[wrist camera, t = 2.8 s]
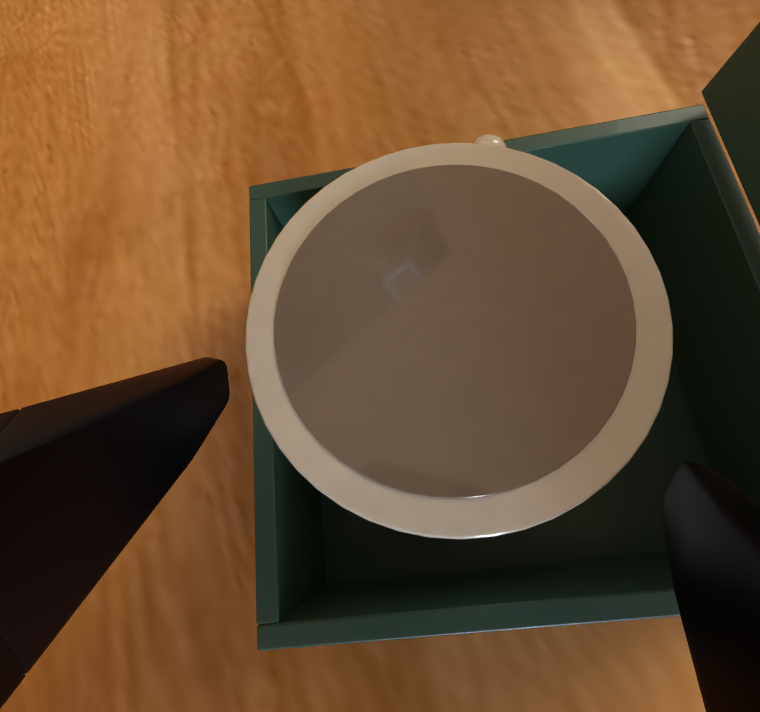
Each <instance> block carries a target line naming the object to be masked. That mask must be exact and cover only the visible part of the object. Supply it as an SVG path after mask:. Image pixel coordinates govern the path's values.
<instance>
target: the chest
mask: <svg viewBox="0 0 760 712" xmlns="http://www.w3.org/2000/svg"><path fill="white" fill-rule="evenodd" d="M503 141H504V143H505V144H506V147H507V148H510V149H514V150H517V151H521V152H525V153H529V154H532V155H534V156H537V157H540V158H542V159H545V160H547V161H550V162H552V163H555V164H557V165H558V166H560V167H562V168H564V169H566V170H568V171H570V172H572V173H574V174H575V175H577V176H579V177H580V178H582V179H583V180H584V181H586V182H587V183H589V184H590V185H592V186H593V187H595V188H596V189H597V190H599V191H600V192H601V193H602V194H603V195H604V196H605V197H606V198H608V199H609V200H610V201H611V202H612V203H613V204H614V205H615V206H617V207H618V209H619V210H620V211H621V212H622V213H623V214H624V215H625V217H626V218H627V219H628V220H629V221H630V222H631V224H632V225H633V226H634V227H635V229H636V230H637V232H638V233H639V235H640V236H641V238H642V239H643V241H644V242H645V244H646V245H647V247H648V248H649V250H650V252H651V254H652V256H653V259H654V261H655V263H656V265H657V267H658V269H659V271H660V273H661V277H662V280H663V283H664V286H665V289H666V293H667V296H668V300H669V306H670V312H671V319H672V325H673V355H672V362H671V369H670V375H669V382H668V385H667V389H666V392H665V395H664V398H663V401H662V405H661V408H660V411H659V413H658V415H657V417H656V419H655V421H654V423H653V425H652V427H651V429H650V431H649V433H648V435H647V437H646V438H645V440H644V441H643V443H642V444H641V446H640V447H639V448H638V450H637V451H636V453H635V454H634V455H633V457H632V458H631V460H630V461H629V462H628V463H627V464H626V465H625V466H624V467H623V469H622V470H621V471H620V472H619V473H618V474H617V475H616V476H615V477H614V478H613V479H612V480H611V481H610V482H609V483H608V484H607V485H606V486H604V487H603V488H602V489H600V490H599V491H598V492H596V493H595V494H594V495H593V496H591V497H590V498H589V499H587V500H586V501H585V502H583V503H582V504H580V505H578V506H576V507H575V508H573V509H571V510H569V511H567V512H566V513H564V514H562V515H560V516H558V517H557V518H555V519H552V520H550V521H547V522H544V523H542V524H539V525H536V526H534V527H531V528H528V529H526V530H522V531H517V532H513V533H508V534H504V535H499V536H495V537H486V538H473V539H446V538H430V537H424V536H419V535H414V534H409V533H405V532H400V531H396V530H393V529H390V528H387V527H385V526H382V525H379V524H376V523H373V522H370V521H368V520H366V519H364V518H362V517H360V516H358V515H356V514H354V513H352V512H350V511H349V510H347V509H345V508H343V507H341V506H340V505H338V504H337V503H335V502H334V501H333V500H331V499H330V498H328V497H327V496H325V495H324V494H323V493H321V492H320V491H318V490H317V489H316V488H315V487H314V486H313V485H312V484H311V483H310V482H309V481H308V480H306V479H305V478H304V477H303V476H302V475H301V474H300V473H299V472H298V471H297V470H296V469H295V468H294V466H293V465H292V464H291V463H290V461H289V460H288V459H287V458H286V456H285V455H284V454H283V453H282V451H281V450H280V449H279V447H278V446H277V444H276V442H275V441H274V439H273V437H272V436H271V434H270V432H269V431H268V429H267V427H266V426H265V423H264V421H263V419H262V416H261V414H260V411H259V409H258V407H257V404H256V402H255V399H254V395H253V429H254V488H255V548H256V607H257V624H259V625H258V626H257V648H258V650H260V651H263V650H275V649H288V648H300V647H312V646H324V645H336V644H348V643H361V642H373V641H385V640H397V639H409V638H421V637H434V636H446V635H458V634H470V633H482V632H494V631H506V630H519V629H531V628H543V627H555V626H567V625H579V624H592V623H604V622H616V621H628V620H640V619H652V618H665V617H677V616H680V612H679V608H678V604H677V600H676V596H675V592H674V588H673V582H672V576H671V570H670V563H669V556H668V549H667V542H666V535H665V528H664V521H663V514H662V507H661V504H662V497H663V494H664V492H665V490H666V488H667V487H668V485H669V483H670V481H671V479H672V478H673V476H674V474H675V472H676V470H677V469H678V467H679V466H680V465H681V464H682V463H685V462H690V463H695V464H699V465H704V466H708V467H711V468H713V469H714V470H716V471H717V472H718V473H719V474H721V475H722V476H723V477H725V478H726V479H727V480H729V481H730V482H731V483H733V484H734V485H735V486H736V487H738V488H739V489H740V490H742V491H743V492H744V493H746V494H747V495H748V496H749V497H751V498H752V499H753V500H755V501H756V502H757V503H759V504H760V234H759V232H758V229H757V227H756V225H755V223H754V220H753V218H752V216H751V213H750V211H749V209H748V206H747V204H746V202H745V199H744V197H743V195H742V192H741V190H740V188H739V186H738V183H737V181H736V179H735V176H734V174H733V172H732V169H731V167H730V165H729V162H728V160H727V158H726V155H725V153H724V151H723V149H722V146H721V144H720V142H719V139H718V137H717V135H716V132H715V130H714V128H713V125H712V123H711V121H710V119H709V116H708V114H707V112H706V109H705V107H704V105H697V106H691V107H686V108H680V109H675V110H669V111H664V112H658V113H653V114H647V115H642V116H636V117H631V118H625V119H620V120H614V121H609V122H603V123H597V124H592V125H586V126H581V127H575V128H570V129H564V130H559V131H553V132H548V133H542V134H537V135H531V136H526V137H520V138H514V139H509V140H503ZM354 168H356V167H354ZM354 168H349V169H343V170H337V171H332V172H326V173H321V174H315V175H310V176H304V177H299V178H293V179H288V180H282V181H277V182H271V183H266V184H260V185H254V186H250V187H249V190H250V250H251V294H252V291H253V287H254V284H255V280H256V278H257V275H258V273H259V270H260V268H261V266H262V263H263V261H264V259H265V257H266V255H267V253H268V252H269V250H270V248H271V246H272V245H273V243H274V241H275V239H276V238H277V236H278V235H279V234H280V232H281V231H282V230H283V228H284V227H285V226H286V224H287V223H288V222H289V220H290V219H291V218H292V217H293V216H294V215H295V214H296V213H297V212H298V210H299V209H300V208H301V207H302V206H303V205H304V204H305V203H306V202H307V201H308V200H310V199H311V198H312V197H313V196H314V195H315V194H317V193H318V192H319V191H320V190H321V189H323V188H324V187H325V186H327V185H328V184H330V183H331V182H333V181H334V180H336V179H337V178H339V177H340V176H342V175H343V174H345V173H347V172H349V171H351V170H352V169H354Z"/></svg>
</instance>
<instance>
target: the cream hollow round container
mask: <svg viewBox="0 0 760 712" xmlns="http://www.w3.org/2000/svg"><path fill="white" fill-rule="evenodd" d="M245 351H246V360H247V368H248V376H249V380H250V384H251V387H252V391H253V395H254V399H255V402H256V404H257V407H258V409H259V411H260V414H261V416H262V419H263V421H264V423H265V426H266V427H267V429H268V431H269V432H270V434H271V436H272V437H273V439H274V441H275V442H276V444H277V446H278V447H279V449H280V450H281V451H282V453H283V454H284V455H285V456H286V458H287V459H288V460H289V461H290V463H291V464H292V465H293V466H294V468H295V469H296V470H297V471H298V472H299V473H300V474H301V475H302V476H303V477H304V478H305V479H306V480H308V481H309V482H310V483H311V484H312V485H313V486H314V487H315V488H316V489H317V490H318V491H320V492H321V493H323V494H324V495H325V496H327V497H328V498H330V499H331V500H333V501H334V502H335V503H337V504H338V505H340V506H341V507H343V508H345V509H347V510H349V511H350V512H352V513H354V514H356V515H358V516H360V517H362V518H364V519H366V520H368V521H370V522H373V523H376V524H379V525H382V526H385V527H387V528H390V529H393V530H396V531H400V532H405V533H409V534H414V535H419V536H424V537H430V538H446V539H473V538H486V537H495V536H499V535H504V534H508V533H513V532H517V531H522V530H526V529H528V528H531V527H534V526H536V525H539V524H542V523H544V522H547V521H550V520H552V519H555V518H557V517H558V516H560V515H562V514H564V513H566V512H567V511H569V510H571V509H573V508H575V507H576V506H578V505H580V504H582V503H583V502H585V501H586V500H587V499H589V498H590V497H591V496H593V495H594V494H595V493H596V492H598V491H599V490H600V489H602V488H603V487H604V486H606V485H607V484H608V483H609V482H610V481H611V480H612V479H613V478H614V477H615V476H616V475H617V474H618V473H619V472H620V471H621V470H622V469H623V467H624V466H625V465H626V464H627V463H628V462H629V461H630V460H631V458H632V457H633V455H634V454H635V453H636V451H637V450H638V448H639V447H640V446H641V444H642V443H643V441H644V440H645V438H646V437H647V435H648V433H649V431H650V429H651V427H652V425H653V423H654V421H655V419H656V417H657V415H658V413H659V411H660V408H661V405H662V401H663V398H664V395H665V392H666V389H667V385H668V382H669V375H670V369H671V362H672V355H673V325H672V319H671V312H670V306H669V300H668V296H667V293H666V289H665V286H664V283H663V280H662V277H661V273H660V271H659V269H658V267H657V265H656V263H655V261H654V259H653V256H652V254H651V252H650V250H649V248H648V247H647V245H646V244H645V242H644V241H643V239H642V238H641V236H640V235H639V233H638V232H637V230H636V229H635V227H634V226H633V225H632V224H631V222H630V221H629V220H628V219H627V218H626V217H625V215H624V214H623V213H622V212H621V211H620V210H619V209H618V207H617V206H615V205H614V204H613V203H612V202H611V201H610V200H609V199H608V198H606V197H605V196H604V195H603V194H602V193H601V192H600V191H599V190H597V189H596V188H595V187H593V186H592V185H590V184H589V183H587V182H586V181H584V180H583V179H582V178H580V177H579V176H577V175H575V174H574V173H572V172H570V171H568V170H566V169H564V168H562V167H560V166H558V165H557V164H555V163H552V162H550V161H547V160H545V159H542V158H540V157H537V156H534V155H532V154H529V153H525V152H521V151H517V150H514V149H510V148H507V147H506V144H505V143H504V141H503V140H502V139H501V138H500V137H499V136H497V135H494V134H485V135H482V136H479V137H478V138H476V139H475V140H474V141H473V142H472V143H445V144H432V145H425V146H419V147H413V148H408V149H405V150H401V151H397V152H394V153H390V154H387V155H384V156H382V157H379V158H376V159H374V160H371V161H369V162H366V163H364V164H362V165H360V166H358V167H356V168H354V169H352V170H351V171H349V172H347V173H345V174H343V175H342V176H340V177H339V178H337V179H336V180H334V181H333V182H331V183H330V184H328V185H327V186H325V187H324V188H323V189H321V190H320V191H319V192H318V193H317V194H315V195H314V196H313V197H312V198H311V199H310V200H308V201H307V202H306V203H305V204H304V205H303V206H302V207H301V208H300V209H299V210H298V212H297V213H296V214H295V215H294V216H293V217H292V218H291V219H290V220H289V222H288V223H287V224H286V226H285V227H284V228H283V230H282V231H281V232H280V234H279V235H278V236H277V238H276V239H275V241H274V243H273V245H272V246H271V248H270V250H269V252H268V253H267V255H266V257H265V259H264V261H263V263H262V266H261V268H260V270H259V273H258V275H257V278H256V280H255V284H254V287H253V291H252V294H251V298H250V301H249V307H248V314H247V321H246V349H245Z"/></svg>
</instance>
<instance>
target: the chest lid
mask: <svg viewBox="0 0 760 712" xmlns="http://www.w3.org/2000/svg"><path fill="white" fill-rule="evenodd" d="M702 94H703V96H704V99H705V101H706V103H707V106H708V108H709V110H710V112H711V115H712V117H713V119H714V122H715V124H716V126H717V129H718V131H719V133H720V135H721V138H722V140H723V142H724V145H725V147H726V149H727V151H728V154H729V156H730V158H731V161H732V163H733V165H734V168H735V170H736V172H737V174H738V177H739V179H740V181H741V184H742V186H743V188H744V190H745V193H746V195H747V197H748V200H749V202H750V204H751V207H752V209H753V211H754V213H755V216H756V218H757V220H758V223H759V225H760V22H759V24H758V25H757V26H756V27H755V28H754V30H753V31H752V32H751V33H750V34H749V36H748V37H747V38H746V39H745V40H744V42H743V43H742V44H741V45H740V46H739V47H738V49H737V50H736V51H735V52H734V53H733V55H732V56H731V57H730V58H729V59H728V61H727V62H726V63H725V64H724V65H723V67H722V68H721V69H720V70H719V71H718V73H717V74H716V75H715V76H714V77H713V79H712V80H711V81H710V82H709V83H708V84H707V86H706V87H705V88H704V89H703V90H702Z"/></svg>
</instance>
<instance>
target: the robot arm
mask: <svg viewBox="0 0 760 712" xmlns="http://www.w3.org/2000/svg"><path fill="white" fill-rule="evenodd" d="M229 394H230V391H229V382H228V373H227V366H226V364H225V362H223V361H222V360H218V359H213V358H209V357H205V358H201V359H197V360H194V361H190V362H186V363H183V364H179V365H175V366H172V367H168V368H165V369H161V370H157V371H154V372H150V373H147V374H143V375H139V376H136V377H132V378H128V379H125V380H121V381H118V382H114V383H110V384H107V385H103V386H99V387H96V388H92V389H89V390H85V391H81V392H78V393H74V394H71V395H67V396H63V397H60V398H56V399H52V400H49V401H45V402H42V403H38V404H34V405H31V406H27V407H23V408H22V409H21V410H18V409H16V410H12V411H9V412H5V413H1V414H0V709H1V707H2V706H3V705H4V703H5V702H6V701H7V699H8V698H9V697H10V696H11V694H12V693H13V692H14V690H15V689H16V688H17V687H18V685H19V684H20V683H21V681H22V680H23V679H24V677H25V673H28V672H29V670H30V669H31V668H32V667H33V665H34V664H35V663H36V661H37V660H38V659H39V658H40V656H41V655H42V654H43V652H44V651H45V650H46V648H47V647H48V646H49V645H50V643H51V642H52V641H53V639H54V638H55V637H56V636H57V634H58V633H59V632H60V630H61V629H62V628H63V626H64V625H65V624H66V623H67V621H68V620H69V619H70V617H71V616H72V615H73V614H74V612H75V611H76V610H77V608H78V607H79V606H80V604H81V603H82V602H83V601H84V599H85V598H86V597H87V595H88V594H89V593H90V592H91V590H92V589H93V588H94V586H95V585H96V584H97V582H98V581H99V580H100V579H101V577H102V576H103V575H104V573H105V572H106V571H107V569H108V568H109V567H110V566H111V564H112V563H113V562H114V560H115V559H116V558H117V557H118V555H119V554H120V553H121V551H122V550H123V549H124V547H125V546H126V545H127V544H128V542H129V541H130V540H131V538H132V537H133V536H134V535H135V533H136V532H137V531H138V529H139V528H140V527H141V525H142V524H143V523H144V522H145V520H146V519H147V518H148V516H149V515H150V514H151V513H152V511H153V510H154V509H155V507H156V506H157V505H158V503H159V502H160V501H161V500H162V498H163V497H164V496H165V494H166V493H167V492H168V490H169V489H170V488H171V487H172V485H173V484H174V483H175V481H176V480H177V479H178V478H179V476H180V475H181V474H182V472H183V471H184V470H185V468H186V467H187V466H188V464H189V463H190V462H191V460H192V459H193V457H194V456H195V454H196V453H197V451H198V450H199V448H200V447H201V445H202V443H203V442H204V440H205V439H206V437H207V435H208V434H209V432H210V430H211V429H212V427H213V426H214V424H215V422H216V421H217V419H218V417H219V416H220V414H221V413H222V411H223V409H224V408H225V406H226V404H227V402H228V400H229ZM661 507H662V514H663V521H664V528H665V535H666V542H667V549H668V556H669V563H670V570H671V576H672V582H673V588H674V592H675V596H676V600H677V604H678V608H679V612H680V616H681V619H682V623H683V627H684V631H685V634H686V638H687V642H688V646H689V649H690V653H691V657H692V661H693V664H694V668H695V672H696V676H697V679H698V683H699V687H700V691H701V694H702V698H703V702H704V706H705V709H706V712H760V504H759V503H757V502H756V501H755V500H753V499H752V498H751V497H749V496H748V495H747V494H746V493H744V492H743V491H742V490H740V489H739V488H738V487H736V486H735V485H734V484H733V483H731V482H730V481H729V480H727V479H726V478H725V477H723V476H722V475H721V474H719V473H718V472H717V471H716V470H714V469H713V468H711V467H708V466H704V465H699V464H695V463H690V462H685V463H682V464H681V465H680V466H679V467H678V469H677V470H676V472H675V474H674V476H673V478H672V479H671V481H670V483H669V485H668V487H667V488H666V490H665V492H664V494H663V497H662V504H661Z"/></svg>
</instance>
